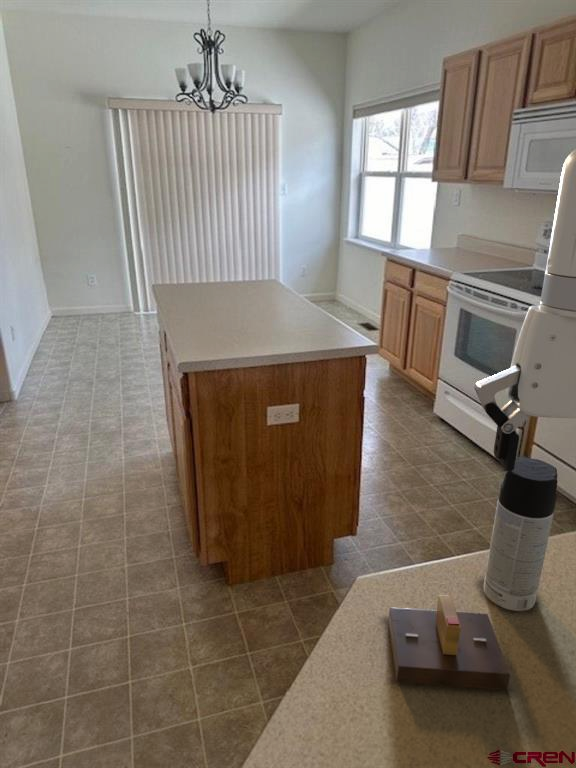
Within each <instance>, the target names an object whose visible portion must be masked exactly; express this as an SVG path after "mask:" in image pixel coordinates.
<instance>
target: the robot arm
mask: <svg viewBox="0 0 576 768" xmlns="http://www.w3.org/2000/svg"><path fill="white" fill-rule="evenodd" d="M555 206H556V207H555V213H554V218H553V225H552V231H551V236H550V244H549V249H548V255H547V261H546V267H545V272H544V278H543V283H542V289H541V296H540V302H539V304H537V305H530V306H529V308H528V310H527V312H526V315H525V318H524V321H523V323H522V326H521V329H520V332H519V335H518V338H517V342H516V345H515V348H514V353H513V355H512V359H511V364H510V368H508V369H506V370H503V371H501V372H498V373H497V374H494V375H492V376H489V377H487V378H484V379H482V380H479V381H477V382H476V383H475V384H474V391H475V393H476V396H477V398H478V400H479V402H480V404H481V407H482V409H483V410H484V412H485V413H486V415H487V416H488V417H489V418H490V419H491V420H492V421H493V422H494V423H495V424H496V433H495V439H494V446H493V456H494V457H495V460H498V462H499V463H500V465H501V466H502V468H503V469H504V471H512V470H514V466H515V460H516V458H517V455H518V453H517V452H518V447H519V441H520V435H519V433H518V432H517V431H516V430H517V429H518V428H520V426H522V425H523V424H524V423H525V422H526V421H527V420H529V419H530V418H531V417H536V418H549V419H550V418H551V419H552V418H554V419H574V420H575V419H576V149H574V150H572V151H571V153H569V155H568V156H567V157H566V159H565V160H564V163H563V167H562V171H561V176H560V183H559V188H558V195H557V200H556V205H555ZM503 390H506V396H507V398H509V399H510V400H508V402H507V403H505V404H504V405H503V406H502V407H499V405H498V404H497V401H496V398H495V395H496V394H497V393H499V392H501V391H503Z"/></svg>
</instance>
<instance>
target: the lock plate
mask: <svg viewBox="0 0 576 768" xmlns="http://www.w3.org/2000/svg"><path fill="white" fill-rule="evenodd" d="M436 611H437V609H436V610H434V609H420V608H406V607H405V608H403V607H402V608H401V607H389V611H388V621H387V622H388V629H389V638H390V643H391V650H392V658H393V666H394V673H395V681H396V682H398V683H411V684H425V685H438V686H453V687H465V688H466V687H467V688H468V687H469V688H481V689H494V690H495V689H496V690H508V688H509V683H510V678H511V672H510V670H509V667H508V665H507V663H506V662H507V661H506V660H505V657H504V655H503V651H502V649H501V646H500V644H499V641H498V639H497V635H496V633H495V631H494V628H493V625H492V623H491V620H490V618H489V615H488V613H484V612H483V613H482V612H469V611H467V612H466V611H456V613H457V616H458V620H459V623H460V626H461V630H460V637H459V643H458V650H457V655H446V654H443V650H442V646H441V642H440V638H439V634H438V630H437V627H436V623H435V619H436Z"/></svg>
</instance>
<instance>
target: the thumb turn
mask: <svg viewBox="0 0 576 768" xmlns="http://www.w3.org/2000/svg"><path fill="white" fill-rule="evenodd" d="M436 610H437V611H436V619H435V623H436V627H437V630H438V634H439V638H440V642H441V646H442V650H443V654H446V655H457V650H458V643H459V637H460V630H461V626H460V623H459V620H458V616H457V613H456V612H457V610H456V606H455V603H454V601H453V597H452V596H451V595H444V594H438V596H437V605H436Z"/></svg>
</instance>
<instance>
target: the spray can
mask: <svg viewBox="0 0 576 768" xmlns="http://www.w3.org/2000/svg"><path fill="white" fill-rule="evenodd" d="M504 471H505V470H504ZM558 483H559V481H558V469H557V468H556V467H555V466H554V465H553V464H551V463H548V462H546V461H543V460H541V459H537V458H531V457H523V456H522V457H516V460H515V466H514V470H512V471H505V472H504V475H503V478H502V480H501V481H500V486H499V492H498V495H497V501H496V510H495V514H494V520H493V527H492V533H491V537H490V545H489V549H488V550H489V551H488V557H487V563H486V569H485V575H484V580H483V591H484V594H485V596H486V597H487V598H488V599H489V600H490V601H491V602H492V603H494V604H495V605H497V606H499V607H501V608H503V609H506V610H509V611H515V612H516V611H517V612H523V611H528V610H530V609H531V608H533V607H534V606H535V604H536V601H537V595H538V590H539V587H540V581H541V577H542V571H543V567H544V562H545V559H546V558H545V557H546V552H547V547H548V543H549V537H550V533H551V528H552V525H553V519H554V513H555V510H556V509H555V508H556V503H557V498H558V494H557V491H558V490H557V488H558Z"/></svg>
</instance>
